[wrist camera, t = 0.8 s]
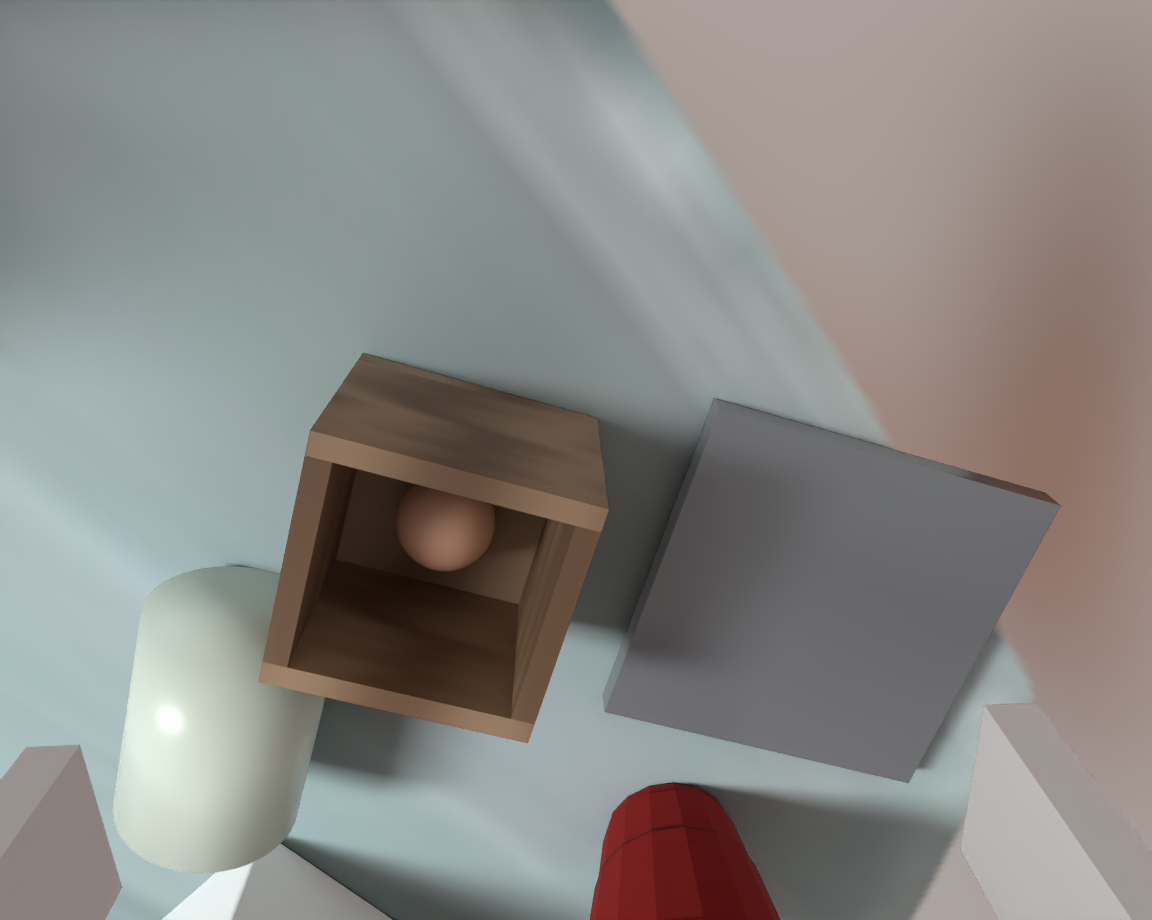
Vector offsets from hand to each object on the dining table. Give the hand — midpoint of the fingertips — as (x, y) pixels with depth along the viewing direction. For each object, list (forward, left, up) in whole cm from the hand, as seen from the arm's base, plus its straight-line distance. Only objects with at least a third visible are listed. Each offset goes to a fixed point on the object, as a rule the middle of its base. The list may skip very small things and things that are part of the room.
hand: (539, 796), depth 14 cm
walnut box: (-2, -6, -22) cm, 23 cm away
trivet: (+13, -7, -22) cm, 27 cm away
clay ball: (-2, -6, -20) cm, 21 cm away
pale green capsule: (-8, -16, -22) cm, 29 cm away
